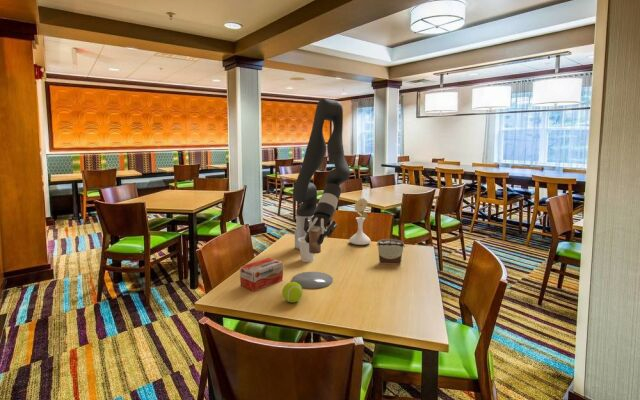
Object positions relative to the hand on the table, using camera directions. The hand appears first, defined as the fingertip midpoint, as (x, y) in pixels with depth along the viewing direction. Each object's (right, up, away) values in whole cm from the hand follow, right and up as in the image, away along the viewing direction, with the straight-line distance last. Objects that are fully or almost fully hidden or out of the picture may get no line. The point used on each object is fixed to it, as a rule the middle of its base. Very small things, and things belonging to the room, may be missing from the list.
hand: (312, 242), depth 149 cm
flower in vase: (+24, -7, +55) cm, 60 cm away
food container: (+35, -12, +28) cm, 46 cm away
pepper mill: (+1, -4, +2) cm, 5 cm away
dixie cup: (-3, -11, +29) cm, 31 cm away
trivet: (0, -15, +4) cm, 16 cm away
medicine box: (-20, -16, +1) cm, 26 cm away
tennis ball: (-7, -19, -15) cm, 25 cm away
